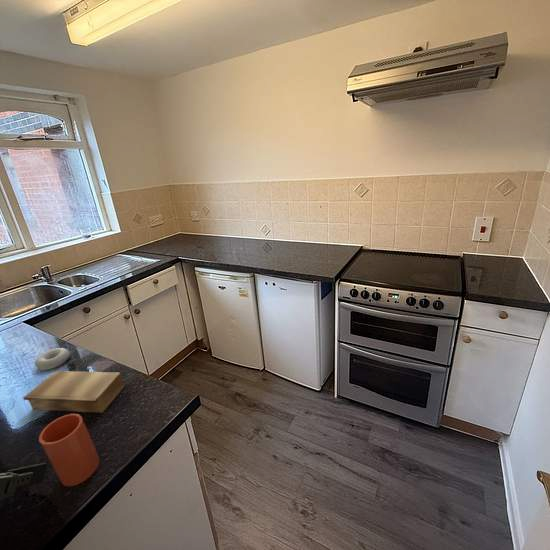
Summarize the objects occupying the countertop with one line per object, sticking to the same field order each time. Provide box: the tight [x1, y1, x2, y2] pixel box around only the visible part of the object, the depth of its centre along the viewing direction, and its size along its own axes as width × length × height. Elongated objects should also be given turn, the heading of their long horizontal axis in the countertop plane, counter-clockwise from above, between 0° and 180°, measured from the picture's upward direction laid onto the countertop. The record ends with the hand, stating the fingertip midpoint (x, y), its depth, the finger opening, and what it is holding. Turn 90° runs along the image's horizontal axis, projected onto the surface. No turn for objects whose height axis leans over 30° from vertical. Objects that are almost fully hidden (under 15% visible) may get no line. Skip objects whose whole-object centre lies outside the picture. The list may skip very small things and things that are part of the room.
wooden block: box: [22, 370, 126, 414], centre depth 85 cm, size 22×11×5 cm, turn 82°
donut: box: [34, 347, 71, 371], centre depth 103 cm, size 10×4×10 cm
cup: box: [38, 413, 100, 487], centre depth 63 cm, size 7×7×12 cm
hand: (9, 469), depth 51 cm, fingers open, 13 cm apart
